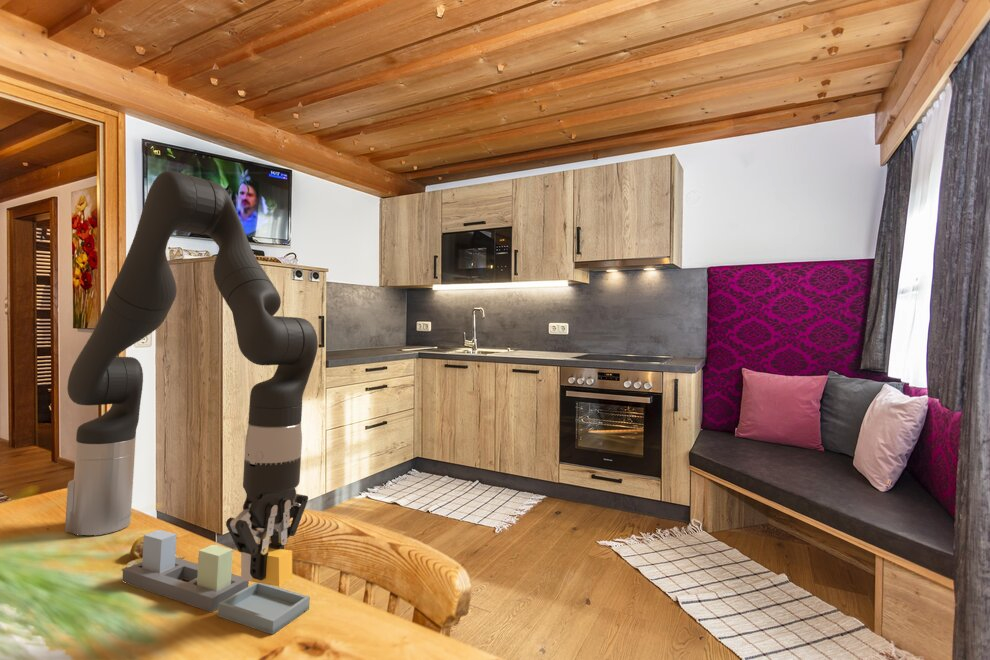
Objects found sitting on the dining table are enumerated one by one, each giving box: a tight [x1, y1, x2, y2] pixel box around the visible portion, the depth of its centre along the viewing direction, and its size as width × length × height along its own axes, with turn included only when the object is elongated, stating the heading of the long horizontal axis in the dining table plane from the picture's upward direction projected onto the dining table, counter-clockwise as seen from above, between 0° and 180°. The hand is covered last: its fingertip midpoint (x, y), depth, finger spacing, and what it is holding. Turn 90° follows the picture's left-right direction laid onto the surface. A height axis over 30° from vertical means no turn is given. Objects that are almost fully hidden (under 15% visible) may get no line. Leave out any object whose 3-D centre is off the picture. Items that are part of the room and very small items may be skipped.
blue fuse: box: [142, 529, 178, 574], centre depth 80 cm, size 4×2×7 cm, turn 69°
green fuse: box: [197, 544, 234, 592], centre depth 76 cm, size 4×2×7 cm, turn 69°
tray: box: [217, 582, 311, 635], centre depth 73 cm, size 10×7×2 cm
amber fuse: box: [240, 548, 293, 587], centre depth 73 cm, size 4×2×7 cm
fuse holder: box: [121, 556, 250, 613], centre depth 78 cm, size 19×6×2 cm, turn 69°
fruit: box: [125, 536, 185, 568], centre depth 87 cm, size 8×8×4 cm
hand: (266, 573), depth 73 cm, fingers closed on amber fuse, 2 cm apart
